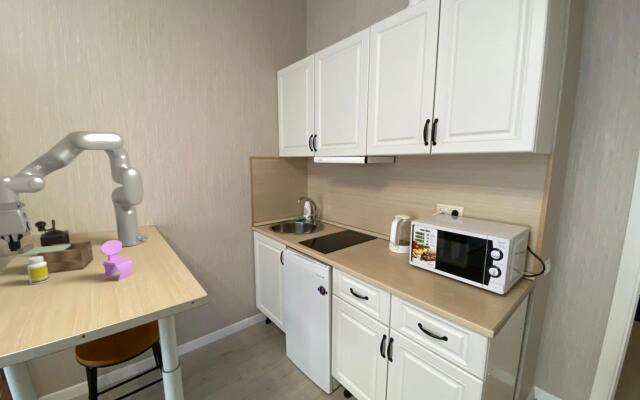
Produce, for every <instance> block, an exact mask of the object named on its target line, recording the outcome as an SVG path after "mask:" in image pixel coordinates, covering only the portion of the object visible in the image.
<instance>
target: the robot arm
mask: <svg viewBox="0 0 640 400" xmlns="http://www.w3.org/2000/svg"><path fill="white" fill-rule="evenodd" d="M124 144H125V139H124V137H123V136H122V135H121V134H120V133H117V132H116V131H115V132H114V131H90V130H89V131H88V130H87V131H86V130H80V131H79V130H78V131H72V132H69V133H68V134H66V135H65V136H64V137H63V138H62V139H61V140H59V141H58V142H57V143H55V145H54V146H52V147H51V148H50V149H49V150H48V151H47V152H46V151H45V153H43V154H42V155H40V156H39V157H38V158H36V159H35V160H33V161H32V162H31V163H29V164H27V165H26V166H25V167H24V168H22V169H21V170H20V171H19V172H17V173H16V174H15V175H14V176H13V175H12V176H10V175H0V239H1V240H3V241H5V242H6V243H7V245H8V249H9V250H10V252H11V253H12V252H18V249H20V248H22V244H21V240H22V239H23V238H24V237H27V236H29V235H31V230H32V226H31V221H30V218H29V215H28V213H27V211H26V210H25V208H23V207H25V206H26V204H25V203H24V202H23V203H22V202H21V199H20V194H21V193H22V194H23V193H24V194H25V193H27V194H30V193H31V194H33V193H34V194H35V193H39V192H41V191H42V190H43V191H44V189H45V188H46V181H45V179H44V178H46V177H47V176H48V175H50V174H52V173H53V172H56V171H58V170H61V169H64V168H65V167H67V166H68V165H70V164H71V163H72V162H73V161H75V159H76V158H77V157H79V156H80V155H81V154H82V153H83V152H84V151H104V152H105V153H106V155H107V157H108V159H109V164H110V172H111V173H110V174H111V178H112V181H113V182H114V183H115V184H118V185H121V186H118V187H115V189H113V191H112V192H111V195H110V196H111V198H110V199H111V201H112V205H113V208H114V214H115V222H116V231H117V232H116V233H117V237H118V238H117V240H118V241H120V242H121V243H122V247H123V248H124V247H126V246H127V247H132V246H137V245H140V244H142V243H143V242H144V240H148V239H149V235H147V234H144V235H142V234H141V232H140V231H139V223H138V212H137V209H136V206H138V205H140V204H141V203H142V202H143V200H144V197H145V196H144V185H143V177H142V174H141V172H140V170H138V169H137V168H136V167H133V166H131V161H130V156H129V153H128V151H127V149H126V148H125V147H124ZM122 247H121V248H122Z"/></svg>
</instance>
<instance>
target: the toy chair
mask: <svg viewBox="0 0 640 400" xmlns="http://www.w3.org/2000/svg"><path fill="white" fill-rule="evenodd" d="M121 250H122V243H121V242H120V241H118V239H117V240H116V239H111V240H107V241H105V242H104V243H103V244H102V245H101V246H100V253H101V254H103V255H105V256H107V258H108V259H107V260H104V261H102V262H103V264H102V266H103V268H104V274H103V276H102V280H103V279H106V278H108V277H110V276H113V275H116V274H118V273H119V276H118V279H117V282H120V281H122V280H125V279H127V278H129V277H132V276H133V275H134V274H133V271H132V263H133V262H132V259H131V257H128V256H121V255H118V253H119V252H121Z"/></svg>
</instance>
